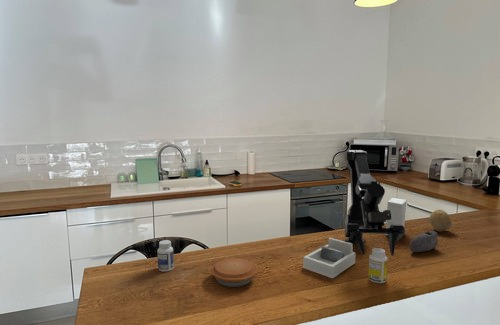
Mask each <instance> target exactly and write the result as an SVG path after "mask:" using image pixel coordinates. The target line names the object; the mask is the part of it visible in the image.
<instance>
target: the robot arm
mask: <svg viewBox="0 0 500 325" xmlns="http://www.w3.org/2000/svg"><path fill="white" fill-rule="evenodd" d="M367 160H368V152H367V151H365V150H362V149H348V150H347V151H345V153H344V161H345V166H346V167H347V169H348V170H349V172H350V173H349V174H350V200H351V205H350V206H349V209H348V210H347V214H346V216H345V218H344V225H345V228H344V237H345V238H346V239H345V241H344V242H348V243H352V244H353V245H355V246H356V247H357V249H358V250H359V251H360V253H361V255H362V256H364V255H365V247H364V245H363V243H365V242H366V239H365V238H364V234H374V235H375V234H378V235H385V234H388V236H387V237H388V239H387V240H388V248H389V251H390V252H389V253H390V255H391V257H394V253H395V250H396V244H397V241H399V240H400V239H402V238H403V236H404V235H405V233H406V229H405V225H404V226H403V225H398V224H391V226H390V228H386V227H384V226H385V223H386V220H391V212H390V210H387V209H384V210H383V211H380V208H379V205H380V204H381V202H382V200H383V197H384V195H385V193H386V190H385V188H384V187H383V185H381V184H379V183H378V181H377V180H376V178H374V177H373V176H372V175H371V172H370V167H369V164H368V161H367Z"/></svg>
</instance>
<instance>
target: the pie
mask: <svg viewBox="0 0 500 325" xmlns="http://www.w3.org/2000/svg"><path fill="white" fill-rule="evenodd" d="M258 271H259V268H258V266H257V264H255V263H254V262H253V261H251V260H247V259H244V258H239V257H238V258H237V257H236V258H235V257H231V258H226V259H222V260H220V261H218V262H216V263H214V264H213V265H212V266H211V268H210V272H211V275H212V276H213V277H214V278H215V280H216V281H217V282H218V283H219V285H222V286H225V287H227V288H228V287H229V288H238V287H243V286H245V285H248V284H249V283H250V282H251V281H252V279H253V278H254V277H255V275H257V273H258Z"/></svg>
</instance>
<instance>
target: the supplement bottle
mask: <svg viewBox="0 0 500 325" xmlns="http://www.w3.org/2000/svg"><path fill="white" fill-rule="evenodd" d="M387 273H388V256H387V255H386V250H385V249H383V248H380V247H374V248H372V250H371V253H370V254H369V257H368V274H367V275H368V280H369V281H371V282H372V283H376V284H384V283H386V281H387Z"/></svg>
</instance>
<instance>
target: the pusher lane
mask: <svg viewBox="0 0 500 325" xmlns="http://www.w3.org/2000/svg"><path fill="white" fill-rule="evenodd" d="M324 246H326V247H329V248H332V249H336V250H339V251H342V252H344V257H343V258H342V259H340V260H338V261H337V262H333V261H330V260H327V259H324V258H321V248H322V246H321V247H319V248H318V249H315V250H314V251H312V252H310V253H309V254H307V255H305V256H303V258H302V260H303V261H302V262H303V263H302V268H303V269H305V270H308V271H310V272H314V273H316V274H320V275H322V276H325V277H328V278H330V279H334V278H335V277H337V276H339V275H340V274H341V273H343V272H344V271H345V270H348V268H350V267H351V266H353V265H354V264H356V252H355V251H353V250H354V249H353V246H354V243H350V242H346V241H344V240H341V239H336V238H333V237H328V243H327V244H326V245H324Z"/></svg>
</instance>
